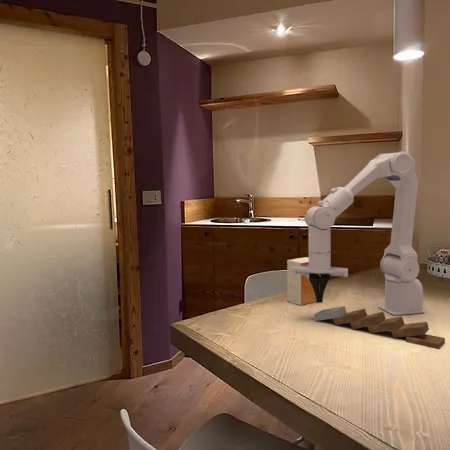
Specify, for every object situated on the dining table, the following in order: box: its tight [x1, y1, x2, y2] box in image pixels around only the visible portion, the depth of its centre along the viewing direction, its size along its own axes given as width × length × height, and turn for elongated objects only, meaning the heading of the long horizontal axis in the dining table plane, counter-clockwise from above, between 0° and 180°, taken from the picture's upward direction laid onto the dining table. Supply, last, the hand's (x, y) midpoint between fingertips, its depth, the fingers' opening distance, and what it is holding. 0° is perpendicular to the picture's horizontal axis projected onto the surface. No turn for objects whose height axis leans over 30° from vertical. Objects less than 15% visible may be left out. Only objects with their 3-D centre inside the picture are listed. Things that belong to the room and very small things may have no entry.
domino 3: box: [366, 315, 405, 334], centre depth 104 cm, size 2×5×7 cm
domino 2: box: [349, 311, 387, 331], centre depth 107 cm, size 2×5×7 cm
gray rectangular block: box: [313, 305, 348, 322], centre depth 114 cm, size 2×5×7 cm
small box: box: [286, 256, 320, 306], centre depth 132 cm, size 8×6×13 cm
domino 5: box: [405, 333, 446, 350], centre depth 98 cm, size 2×5×7 cm
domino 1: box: [332, 308, 368, 326], centre depth 110 cm, size 2×5×7 cm
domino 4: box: [390, 321, 430, 338], centre depth 101 cm, size 2×5×7 cm
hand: (319, 301), depth 116 cm, fingers closed
